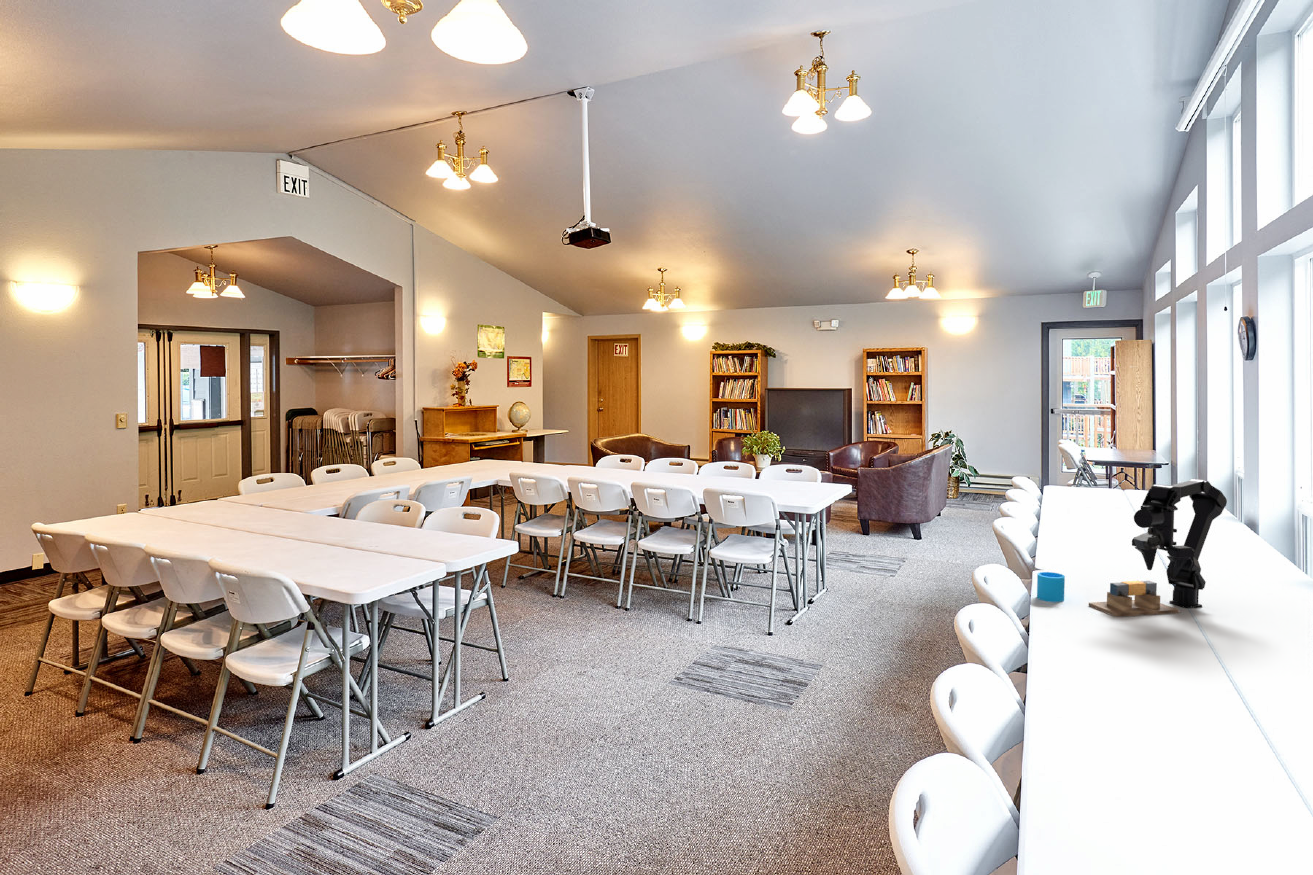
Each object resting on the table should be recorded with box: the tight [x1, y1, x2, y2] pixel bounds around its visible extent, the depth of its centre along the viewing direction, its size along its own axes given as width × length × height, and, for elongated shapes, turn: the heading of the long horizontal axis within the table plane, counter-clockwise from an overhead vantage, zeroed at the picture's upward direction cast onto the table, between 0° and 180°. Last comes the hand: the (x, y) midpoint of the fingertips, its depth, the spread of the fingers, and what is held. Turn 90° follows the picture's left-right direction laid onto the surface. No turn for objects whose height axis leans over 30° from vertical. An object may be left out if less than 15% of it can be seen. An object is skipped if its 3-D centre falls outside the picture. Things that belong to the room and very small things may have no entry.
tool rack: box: [1088, 591, 1180, 618], centre depth 241 cm, size 22×12×6 cm, turn 98°
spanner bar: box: [1109, 580, 1158, 597], centre depth 241 cm, size 14×3×4 cm, turn 98°
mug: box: [1036, 571, 1066, 603], centre depth 255 cm, size 12×8×8 cm
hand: (1161, 573), depth 238 cm, fingers open, 9 cm apart
